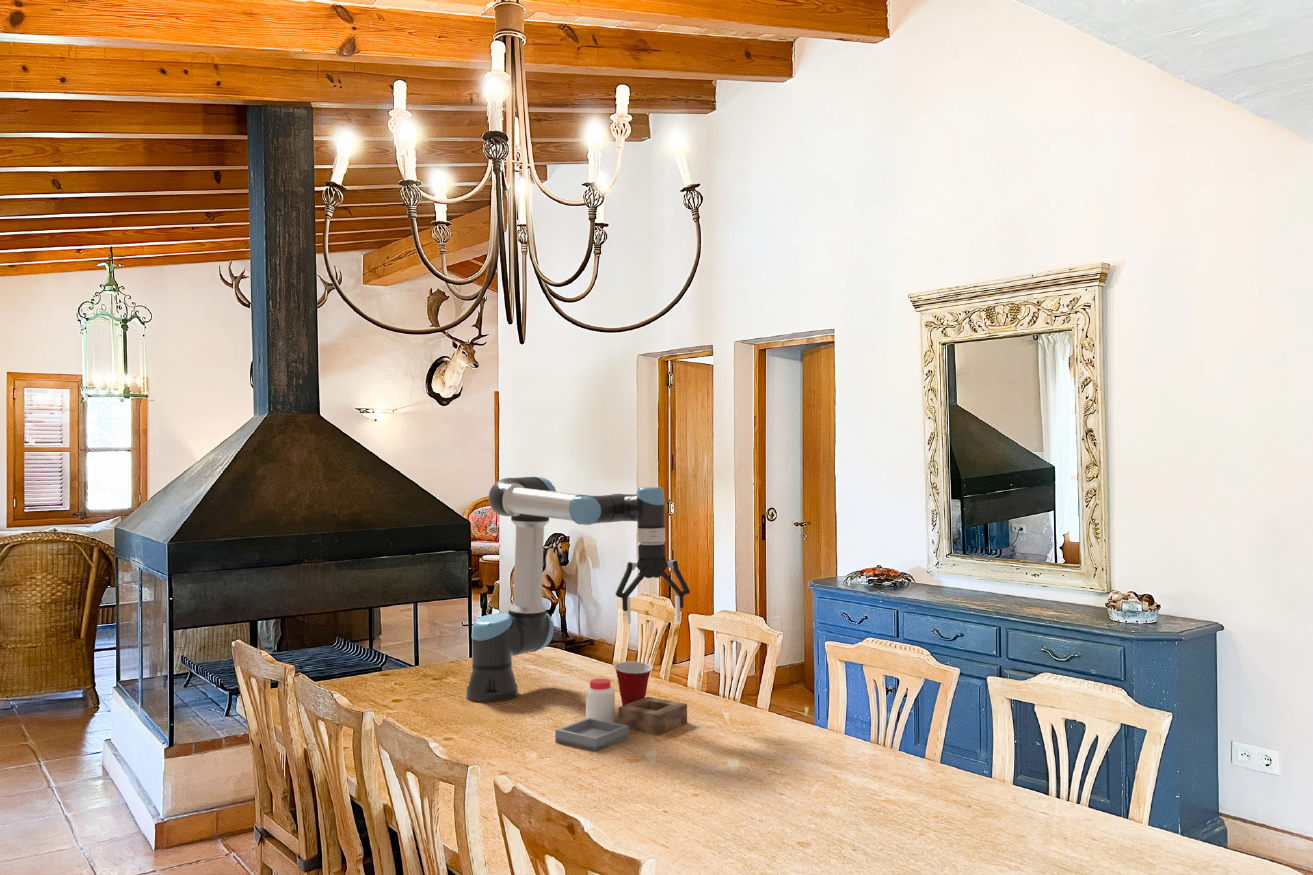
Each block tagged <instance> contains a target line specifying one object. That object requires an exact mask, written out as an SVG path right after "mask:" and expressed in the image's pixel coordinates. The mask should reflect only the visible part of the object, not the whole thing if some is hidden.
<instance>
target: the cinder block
mask: <svg viewBox="0 0 1313 875" xmlns="http://www.w3.org/2000/svg"><path fill="white" fill-rule="evenodd" d="M617 709H618V712H617V713H618V715H617V716H618V721H617V723H618V724H623V725H627V726H629V730H633V731H638V732H642V733H647V734H651V735H657V736H660V735H663V734H665V733H667V732H669V731H671V730H673V729H677V728H678V727H682V726H683V725H685V724H687V723H688V704H687V703H684V702H680V701H679V702H678V701H674V700H673V701H672V700H667V699H662V698H657V697H652V696H645V698H643V699H640V700H637V701H635V702H632V703H629V704H626V705H624V706H622V705H621V706H619V707H617Z"/></svg>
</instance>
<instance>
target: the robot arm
mask: <svg viewBox="0 0 1313 875" xmlns="http://www.w3.org/2000/svg"><path fill="white" fill-rule="evenodd" d="M665 499H666V498H665V491H664V489H663V488H662V487H660V486H652V487H651V486H649V487H648V486H643V487H638V488H637V489H636V493H635V494H628V493H613V494H607V495H589V494H588V495H587V494H578V493H570V492H563V491H562V492H561V491H560V492H559V491H557V489H556V487H555V485H553V483H552V481H550V480H549V479H548V478H545V477H541V476H540V477H539V476H526V477H525V476H523V477H506V478H501V479H499V480H498V481H496V482H495V483H493V485H492V487H491V488H490V490H489V492H488V503H489V506H490V508H491V509H492V511H493V512H495V514H498V515H500V516H503V517H511V518H510V520H511V522H512V523H513V525H514V526H515V549H514V550H515V551H514V552H515V553H514V579H513V580H514V581H513V582H514V583H513V603H512V604H511V605H510V606H509V607H508V612H507V613H504V612H503V613H501V612H499V613H498V612H497V613H494V614H492V613H490V614H486V615H483V616H482V615H481V616H480V617H478V618H476V619H475V620H474V622H472V626H471V628H472V629H471V651H472V652H471V659H472V660H471V661H472V662H471V667H472V668H471V672H470V673H471V674H470V677H469V681H468V685H467V687H466V691H465V693H466V694H465V695H466V696H465V697H466V699H467V700H470V701H475V702H482V703H483V702H484V703H485V702H486V703H488V702H490V703H491V702H502V701H506V700H510V699H513V698H516V697H517V696H518V695H519V688H518V684H517V682H516V677H515V674H514V672H513V665H512V664H513V663H512V662H513V661H512V660H513V657H514V656H518V655H522V654H527V653H534V652H537V651H539V650H542V649H544V648H546V647H547V646H548V645H549V644H550V642H551V641H552V639H553V636H554V630H555V629H554V628H555V626H554V621H553V620H552V617H551V615H550V614H549V613H548V612H547V607H546V606H545V605H544V604H543V603H542V601H543V600H542V598H543V597H542V596H543V572H544V571H543V567H544V566H543V564H544V563H543V562H544V534H545V526H546V525H547V524H548V523H549V522H550V519H556V520H562V521H563V520H565V521H571V522H574V523H575V524H577V525H584V526H588V525H590V526H591V525H593V524H603V523H604V524H606V523H617V522H637V542H638V543H639V544H638V546H637V548H638V549H637V551H638V552H637V553H638V554H637V557H638V560H637V562H631V561H627V563H626V569H625V571H624V574H623V577H622V578H621V580H620V583H619V585H618V587H617V589H616V591H615V596H616V597H617V598H621V600H622V601H621V602H622V610H623V611H624V612H626V624H632V618H631V617H632V616H631V615H632V614H631V599H630V597H629V596H630V595H631V594H632V593H633V591H634V590H635V589H636V588H637V586H638V585H639V584H640V583H641V581H642V580H643V579H644V578H646V579H652V578H655V579H659V578H660V577H662V578H663V580H665V582H667V584H668V585H669V586H670V587H671V589H673V591H674V592H675V594H677V595H674V600H675V601H674V603H675V604H674V607H675V613H674V614H675V620H676V621H677V622H680V621H681V609H684V597H685V596H687V595H690V594H691V590H690V589H689V586H688V585H687V583H686V581H685V579H684V577H683V575H682V573H681V571H680V569H679V564H678V561H677V560H675V559H672V560H669V561H667V557H666V556H667V554H666V552H667V551H666V549H667V547H666V544H665V542H666V522H665V520H666V519H665V514H666V511H665V510H666V507H665V506H666V501H665ZM668 567H669V568H670V569H671V570H672V571H673V573H674V575H675V576H676V579H677V581H678V583H679V584H680V587H681V588H682V590H681V589H680V588H679V586H678V585H677V584H676V583H675V581H673V580H672V579H671V577H670V576H669V575H668V573H666V569H667V568H668ZM636 568H637V569H638V570H639V572H638V573H637V575H636V577H634V579H633V581H632V582H631V583H630V584H629V586H628V587H627V588H626V586H627V583H628V581H629V579H630V577H631V575H632V572H633V571H634V570H635V569H636ZM625 588H626V589H625ZM624 590H625V591H624Z"/></svg>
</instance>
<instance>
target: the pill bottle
mask: <svg viewBox="0 0 1313 875" xmlns="http://www.w3.org/2000/svg"><path fill="white" fill-rule="evenodd" d="M615 692H616V690H615V689H614V687H612V686H611V679H608V678H594V679H593V678H592V679H591V680H589V687H588V688H587V689H586V690H585V719H586V718H594V719H599V720H603V721H608V722H613V723H616V698H615V695H616V694H615Z"/></svg>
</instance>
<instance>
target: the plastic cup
mask: <svg viewBox="0 0 1313 875" xmlns="http://www.w3.org/2000/svg"><path fill="white" fill-rule="evenodd" d="M613 667H614V669H615V672H616V677H617V683H618V688H619V696H620V699H621V706H624V705H626V704H629V703H632V702H635V701H637V700H640V699H643V698H646V697H647V696H646V694H647V688H648V683H649V677H650V673H651V672H652V671H653V666H652V665H651V664H649V663H645V662H641V661H633V660H632V661H621V662H618V663H615V664H614V665H613Z"/></svg>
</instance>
